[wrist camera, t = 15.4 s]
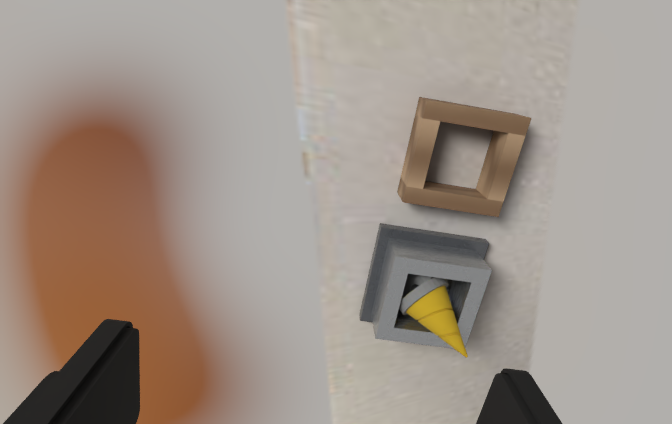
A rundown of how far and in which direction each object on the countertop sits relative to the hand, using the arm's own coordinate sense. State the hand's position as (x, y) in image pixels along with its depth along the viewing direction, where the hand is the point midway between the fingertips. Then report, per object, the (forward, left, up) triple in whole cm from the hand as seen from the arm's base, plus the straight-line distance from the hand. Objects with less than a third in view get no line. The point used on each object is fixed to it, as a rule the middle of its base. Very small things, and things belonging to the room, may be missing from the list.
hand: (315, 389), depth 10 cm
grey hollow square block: (+12, +12, -28) cm, 33 cm away
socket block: (-2, +12, -28) cm, 31 cm away
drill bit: (+12, +13, -28) cm, 32 cm away
